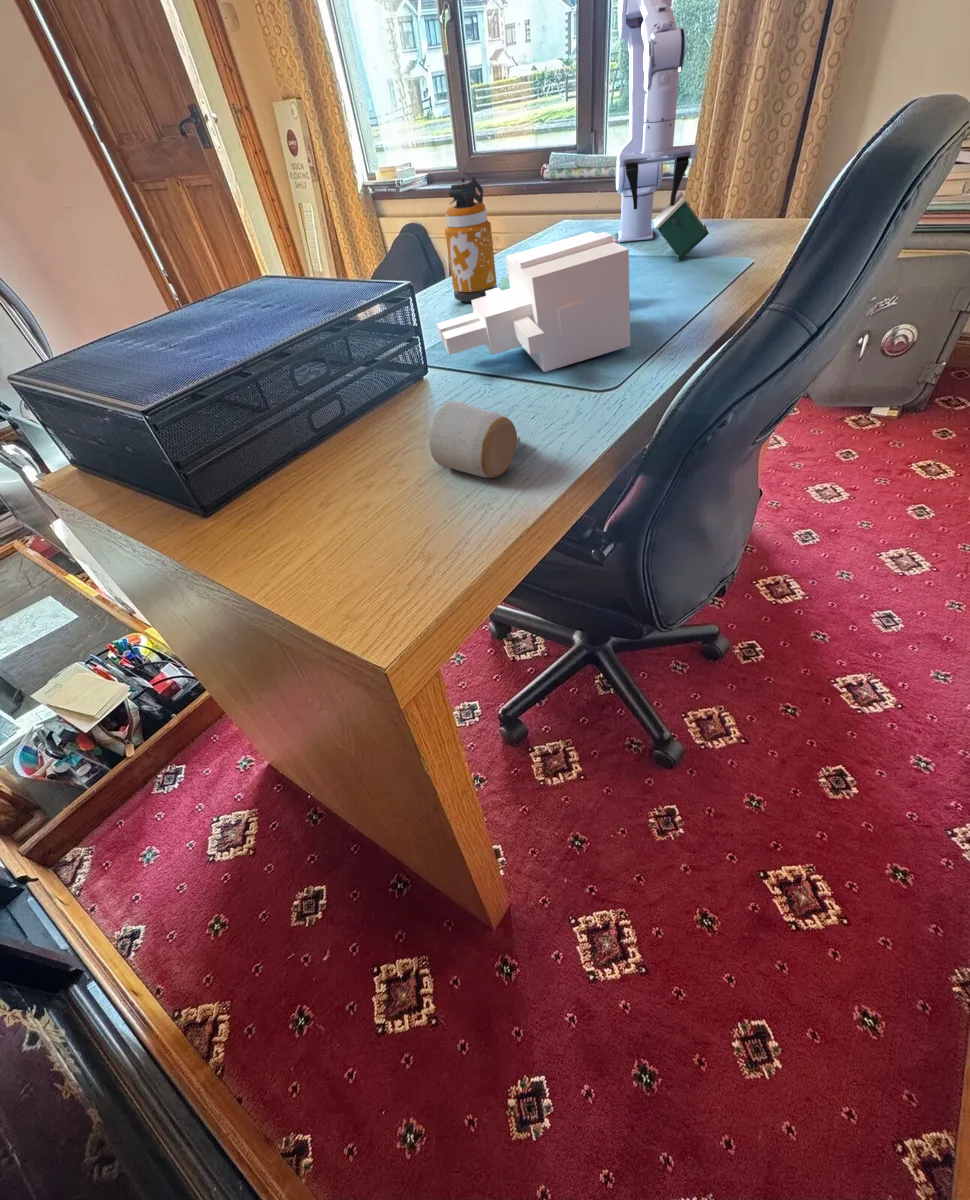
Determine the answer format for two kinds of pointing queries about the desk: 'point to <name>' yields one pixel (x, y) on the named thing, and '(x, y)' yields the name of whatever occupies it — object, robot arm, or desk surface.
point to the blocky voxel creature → (553, 304)
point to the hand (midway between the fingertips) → (653, 206)
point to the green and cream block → (680, 227)
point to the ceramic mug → (472, 439)
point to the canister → (469, 243)
